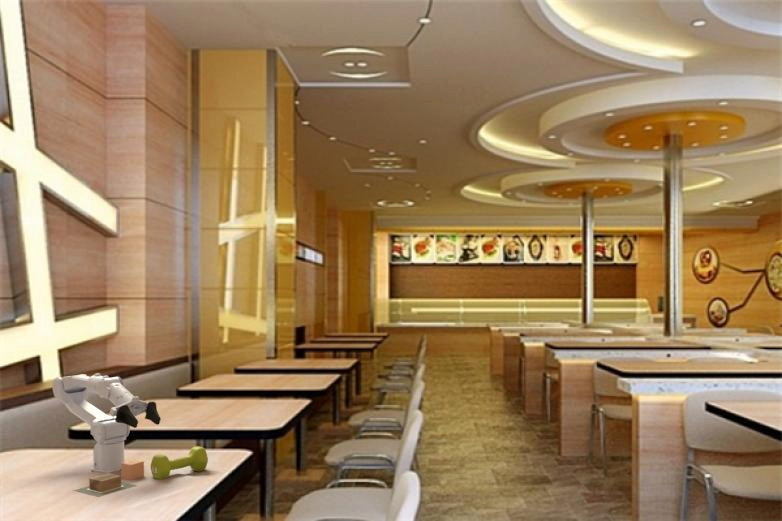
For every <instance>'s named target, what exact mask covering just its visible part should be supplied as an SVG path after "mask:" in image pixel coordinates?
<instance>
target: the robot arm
mask: <svg viewBox="0 0 782 521" xmlns="http://www.w3.org/2000/svg"><path fill="white" fill-rule="evenodd" d="M52 392H53V396H54V398H56V399H57V400H58V401H60V402H62V403H63V404H64V405H65V407H66V409H68V411H69V412H70V413H71V414H73V415H74V416H76V417H77V418H79V419H80V420H81V421H82V422H84V423H86V424H87V425H89V427H90V435H92V437H93V439H94V440H95V442H96V443H95V445H94V446H93V455H92V456H93V460H92V461H93V467H92V468H90V470H91V471H93V472H97V471H98V472H102V473H105V474H108V473H110V474H111V473H114V472H117V471H120V470H121V471H122V463H124V462H125V441H126V440H127V437H129V434H130V433H131V432H130V431H131V427H132V428H133V429H135V428H138V424H139V420H138V419H137V418H136V417H137V416H139V415H141V414H144V413H145V417H144V420H149V421H150V422H152V423H153V424H154V425H157V426H159V425H160V423H161V420H162V419H161V417H160V415H159V412H158V409H157V403H156V402H155V401H145V400H142V399H140V397H139V396H137V395H133V393H131V392H130V390H128V389H127V388H126V387H125V386H124V381H123V379H122V378H121V377H120V376H119V375H117V376H113V377H109V375H102V373H99V372H97V373H94V374H93V375H91V376H88V375H87V374H85V373H84V374H83V373H80V374H77V375H69V376H62V377H59V376H57V377H55V378H54V379H53V380H52ZM89 392H90V393H93V394H97V395H98V397H99V398H101V399H104V398H105V400H109V401H110V402H111V403H112V404H113V405H114V406H113V407H110V410H109V415H108V414H106V413H105V412H104V411H102V410H100V409H99V408H97V407H96V406H94V404H91V403H90V402H89V401H87V400H88V399H89Z"/></svg>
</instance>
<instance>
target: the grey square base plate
mask: <svg viewBox="0 0 782 521" xmlns="http://www.w3.org/2000/svg"><path fill="white" fill-rule="evenodd" d="M136 486H138V485H137V484H132V483H128V482H124V481H121V487H118V488H115V489H111V490H108V491H104V492H99V491H95V490H91V489H89V485H88V486H85V487H81V488H77V489H74V490H73V491H74V492H76V493H81V494H85V495H89V496H93V497H97V498H101V497H103V496H104V497H105V496H106V495H110V494H113V493H117V492H119V491H124V490H127V489H130V488H132V487H133V488H134V487H136Z"/></svg>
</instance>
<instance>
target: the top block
mask: <svg viewBox="0 0 782 521" xmlns="http://www.w3.org/2000/svg"><path fill="white" fill-rule="evenodd" d="M144 463H145V461H144V460H137V459H133V460H129V461H124V463H122V469H121V479H126V480H136V479H139V478H143V477H145V464H144Z"/></svg>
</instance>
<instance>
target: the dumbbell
mask: <svg viewBox="0 0 782 521" xmlns="http://www.w3.org/2000/svg"><path fill="white" fill-rule="evenodd" d="M208 462H209V458H208V454H207V451H206V448H204V447H202V446H198V445H197V446H193V447H192V448H190V450H189V453H188V456H182V457H177V458H173V459H169V457H168V456H167V455H165V454H161V453H160V454H155V455H153V457H152V459H151V462H150V471H151V475H152V477H153V478H154V479H156V480H165V479H167V478H169V476H170V474H171V471H174V470H175V471H176V470H179V469H183V468H186V467H187V468H188V467H190V469H191V470H192V471H193V472H203V471H205V470H206V468H207V466H208Z"/></svg>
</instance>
